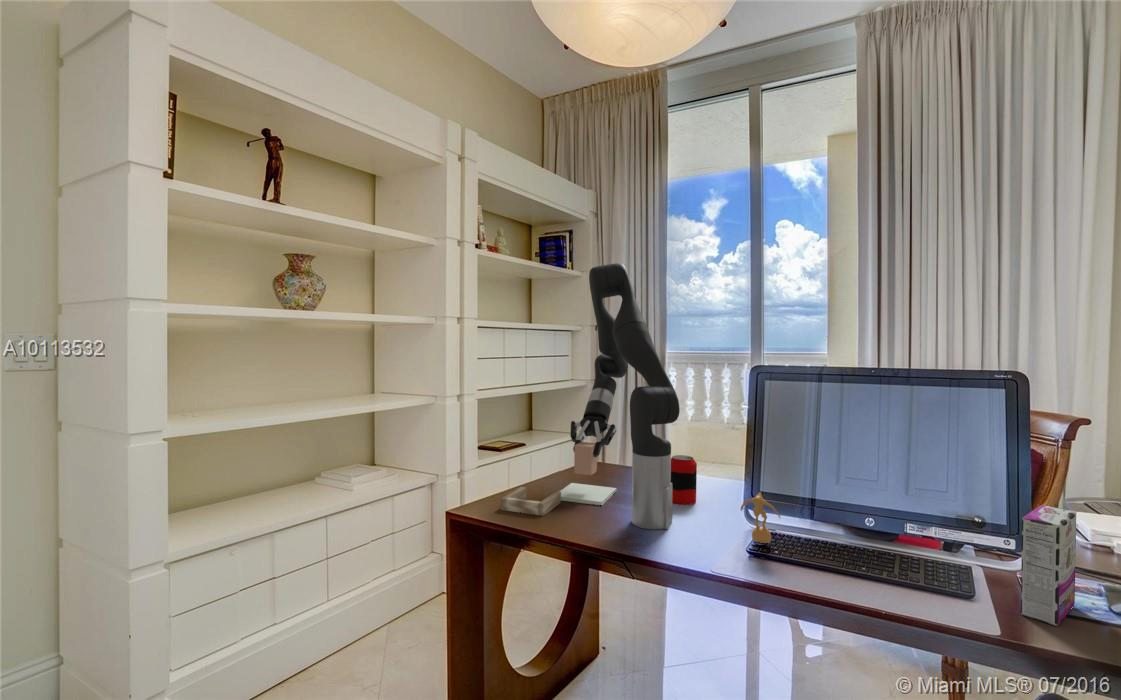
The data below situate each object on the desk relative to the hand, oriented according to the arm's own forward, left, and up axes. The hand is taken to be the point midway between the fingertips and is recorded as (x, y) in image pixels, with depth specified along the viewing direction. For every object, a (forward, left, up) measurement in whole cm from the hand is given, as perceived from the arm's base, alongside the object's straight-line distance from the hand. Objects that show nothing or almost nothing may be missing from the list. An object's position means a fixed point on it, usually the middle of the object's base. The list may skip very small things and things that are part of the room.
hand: (585, 454), depth 152 cm
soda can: (-26, -6, -12) cm, 29 cm away
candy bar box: (-92, +30, -12) cm, 98 cm away
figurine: (-47, +20, -12) cm, 52 cm away
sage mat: (0, 0, -12) cm, 12 cm away
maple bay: (+10, +15, -12) cm, 21 cm away
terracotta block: (0, 0, -5) cm, 5 cm away
